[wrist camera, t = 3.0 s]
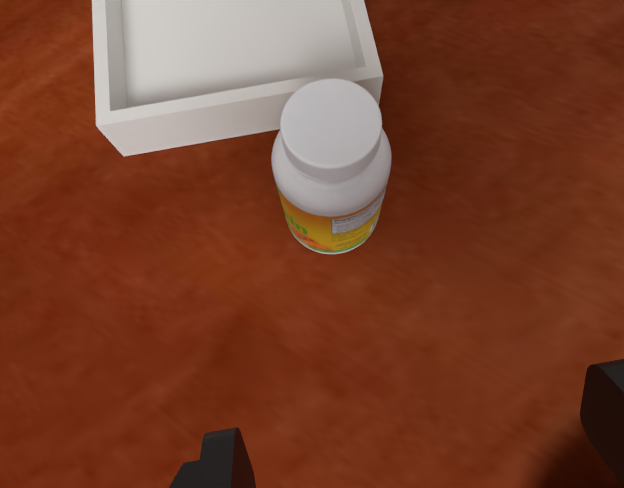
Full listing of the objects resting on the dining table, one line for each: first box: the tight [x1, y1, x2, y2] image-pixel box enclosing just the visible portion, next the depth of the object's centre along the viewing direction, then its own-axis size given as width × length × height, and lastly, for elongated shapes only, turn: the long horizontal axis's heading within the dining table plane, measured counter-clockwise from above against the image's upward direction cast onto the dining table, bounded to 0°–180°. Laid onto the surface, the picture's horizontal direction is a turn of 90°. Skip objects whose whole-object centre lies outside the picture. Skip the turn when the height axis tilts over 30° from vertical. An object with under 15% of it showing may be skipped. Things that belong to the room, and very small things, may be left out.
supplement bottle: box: [271, 78, 391, 254], centre depth 23 cm, size 5×5×10 cm
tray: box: [92, 0, 383, 156], centre depth 30 cm, size 16×16×4 cm
